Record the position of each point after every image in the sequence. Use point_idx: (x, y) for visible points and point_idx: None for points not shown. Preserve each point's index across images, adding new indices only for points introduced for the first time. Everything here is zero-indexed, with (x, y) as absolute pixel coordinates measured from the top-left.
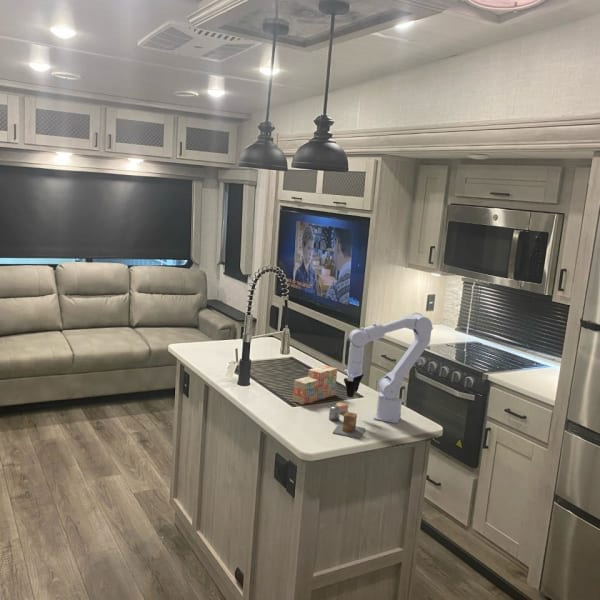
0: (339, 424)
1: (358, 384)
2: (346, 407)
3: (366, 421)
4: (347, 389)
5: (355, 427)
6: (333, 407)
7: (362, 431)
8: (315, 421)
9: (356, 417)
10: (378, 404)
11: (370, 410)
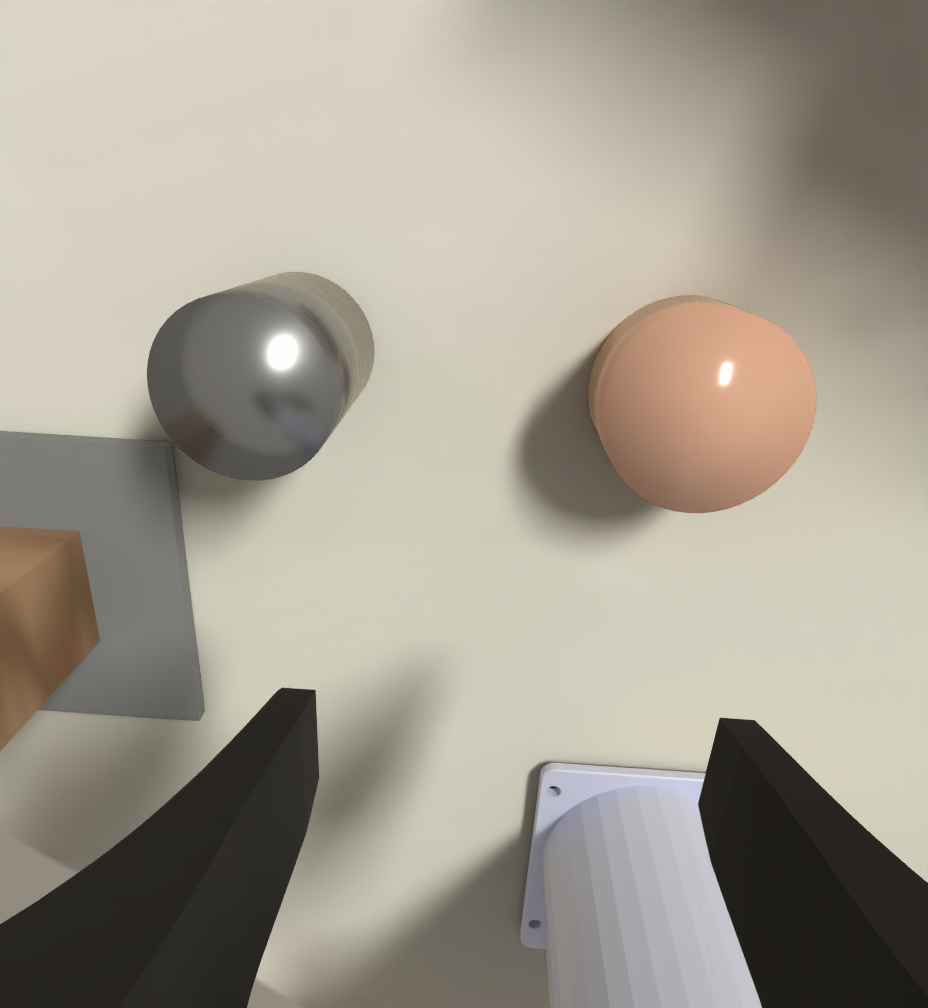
0: (122, 458)
1: (762, 1000)
2: (636, 489)
3: (446, 702)
4: (182, 818)
5: (83, 653)
6: (215, 364)
7: (87, 708)
8: (69, 90)
9: (4, 739)
10: (616, 939)
11: (842, 706)
